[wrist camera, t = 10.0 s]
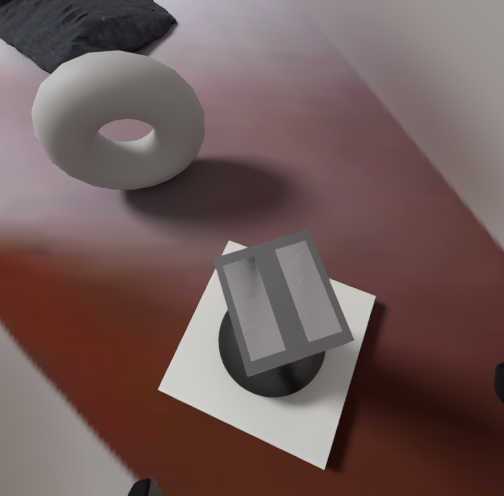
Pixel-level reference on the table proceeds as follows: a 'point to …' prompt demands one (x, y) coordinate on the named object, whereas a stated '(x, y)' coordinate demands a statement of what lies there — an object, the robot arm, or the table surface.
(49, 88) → the donut
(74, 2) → the folded grey shirt
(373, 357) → the table surface
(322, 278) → the grey channel block
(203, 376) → the ceramic tile
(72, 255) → the table surface
